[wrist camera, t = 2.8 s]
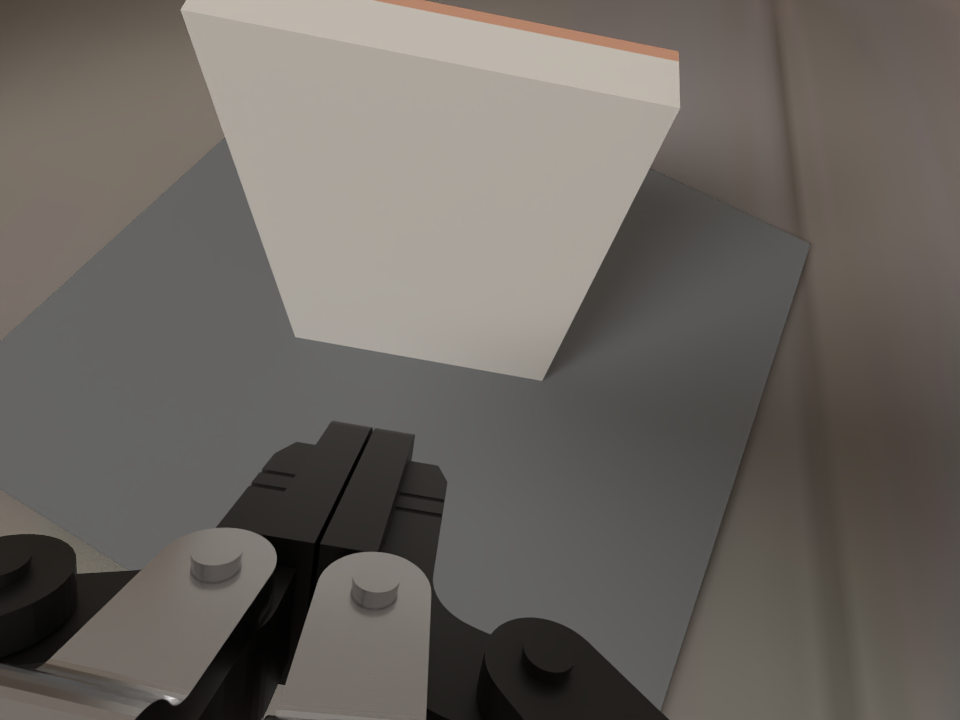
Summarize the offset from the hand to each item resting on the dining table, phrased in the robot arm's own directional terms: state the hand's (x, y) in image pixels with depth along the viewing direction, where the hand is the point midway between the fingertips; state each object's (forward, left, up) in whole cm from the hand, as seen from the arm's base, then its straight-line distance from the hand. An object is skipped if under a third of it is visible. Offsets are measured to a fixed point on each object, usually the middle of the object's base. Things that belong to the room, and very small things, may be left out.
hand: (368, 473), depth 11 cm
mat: (-3, +8, -9) cm, 12 cm away
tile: (-3, +7, -8) cm, 11 cm away
